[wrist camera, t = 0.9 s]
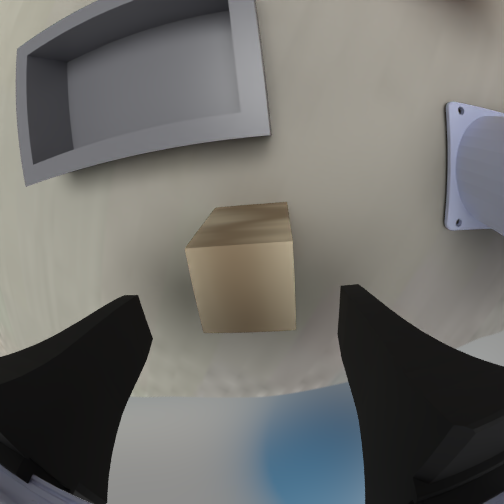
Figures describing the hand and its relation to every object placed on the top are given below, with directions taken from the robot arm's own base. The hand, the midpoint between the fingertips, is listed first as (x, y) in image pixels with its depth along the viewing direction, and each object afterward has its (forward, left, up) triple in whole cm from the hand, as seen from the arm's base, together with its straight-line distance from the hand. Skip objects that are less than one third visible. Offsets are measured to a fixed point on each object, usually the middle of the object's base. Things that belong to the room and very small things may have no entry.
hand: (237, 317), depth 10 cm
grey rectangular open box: (+5, -10, -8) cm, 13 cm away
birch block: (0, 0, -8) cm, 8 cm away
